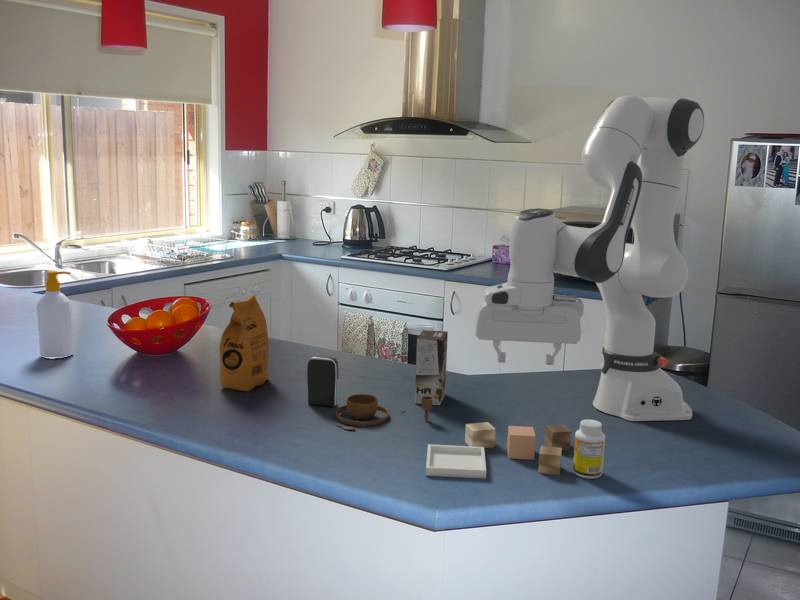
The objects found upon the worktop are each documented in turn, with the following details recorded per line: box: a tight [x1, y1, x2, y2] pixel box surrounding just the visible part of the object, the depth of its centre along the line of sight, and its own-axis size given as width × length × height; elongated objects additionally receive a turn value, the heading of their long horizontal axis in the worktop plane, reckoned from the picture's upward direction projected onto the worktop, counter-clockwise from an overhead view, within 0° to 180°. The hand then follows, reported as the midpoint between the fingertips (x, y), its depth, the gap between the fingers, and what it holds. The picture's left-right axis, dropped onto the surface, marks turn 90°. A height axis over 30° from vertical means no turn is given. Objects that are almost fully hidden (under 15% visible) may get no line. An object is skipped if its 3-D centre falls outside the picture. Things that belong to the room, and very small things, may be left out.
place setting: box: [335, 393, 433, 431], centre depth 172 cm, size 18×20×6 cm
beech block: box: [464, 421, 496, 449], centre depth 160 cm, size 5×4×4 cm
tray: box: [425, 443, 487, 480], centre depth 150 cm, size 11×11×2 cm
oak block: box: [537, 445, 563, 476], centre depth 148 cm, size 4×4×4 cm
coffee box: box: [414, 329, 449, 406], centre depth 186 cm, size 9×6×16 cm
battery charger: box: [306, 355, 339, 408], centre depth 181 cm, size 7×4×11 cm, turn 75°
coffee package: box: [219, 294, 269, 392], centre depth 193 cm, size 10×12×22 cm
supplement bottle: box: [572, 419, 606, 480], centre depth 146 cm, size 6×6×10 cm
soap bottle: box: [36, 270, 75, 357], centre depth 213 cm, size 9×9×24 cm
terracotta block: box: [506, 425, 537, 461], centre depth 155 cm, size 5×5×5 cm
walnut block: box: [544, 424, 572, 451], centre depth 160 cm, size 4×4×4 cm
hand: (525, 362), depth 152 cm, fingers open, 8 cm apart
